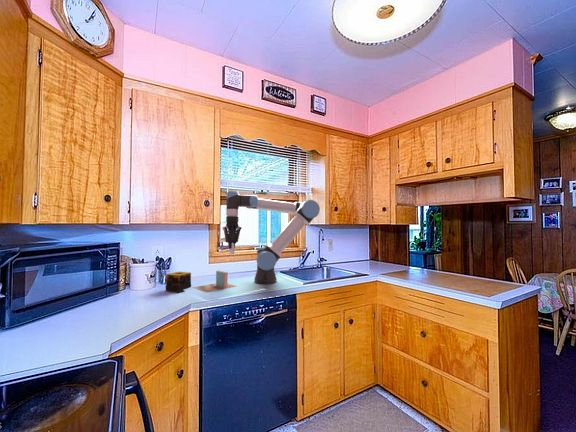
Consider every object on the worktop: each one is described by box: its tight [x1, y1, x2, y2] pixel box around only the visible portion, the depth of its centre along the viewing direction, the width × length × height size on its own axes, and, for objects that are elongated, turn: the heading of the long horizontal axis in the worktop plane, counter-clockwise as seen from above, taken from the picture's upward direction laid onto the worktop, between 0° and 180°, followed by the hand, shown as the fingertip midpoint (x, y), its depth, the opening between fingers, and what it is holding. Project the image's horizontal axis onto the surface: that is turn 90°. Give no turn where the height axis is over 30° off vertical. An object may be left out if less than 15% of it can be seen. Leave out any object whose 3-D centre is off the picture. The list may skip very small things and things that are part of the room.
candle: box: [165, 271, 192, 294], centre depth 154 cm, size 10×10×10 cm
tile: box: [215, 270, 229, 289], centre depth 159 cm, size 2×9×9 cm, turn 47°
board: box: [191, 282, 237, 294], centre depth 158 cm, size 21×16×1 cm
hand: (231, 253), depth 165 cm, fingers closed
